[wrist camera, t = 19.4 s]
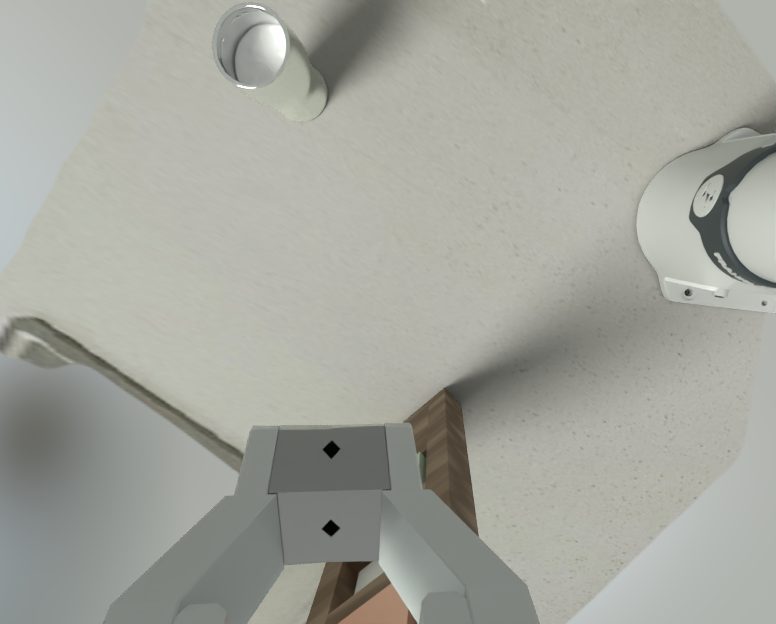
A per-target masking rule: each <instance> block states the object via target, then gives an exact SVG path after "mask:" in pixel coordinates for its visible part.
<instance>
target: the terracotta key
mask: <svg viewBox="0 0 776 624" xmlns="http://www.w3.org/2000/svg"><path fill="white" fill-rule="evenodd" d="M338 624H418V623H417V621H416V620H415V618H414V617H413V615H412V614H411V612H410V611H409V609H408V608H407V606H406V605H405V603H404V602H403V600H402V598H401V597H400V595H399V594H398V592H397V591H396V589H395V588H394V586H393V585H392V583H391V584H390V585H388V586H387V587H386V588H384V589H383V590H382V591H380V592H379V593H378V594H376V595H375V596H374V597H372V598H371V599H370V600H368V601H367V602H366V603H364V604H363V605H362V606H360V607H359V608H358V609H356V610H355V611H354V612H353V613H351V614H350V615H349V616H347V617H346V618H345V619H343V620H342V621H341V622H339V623H338Z"/></svg>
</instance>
